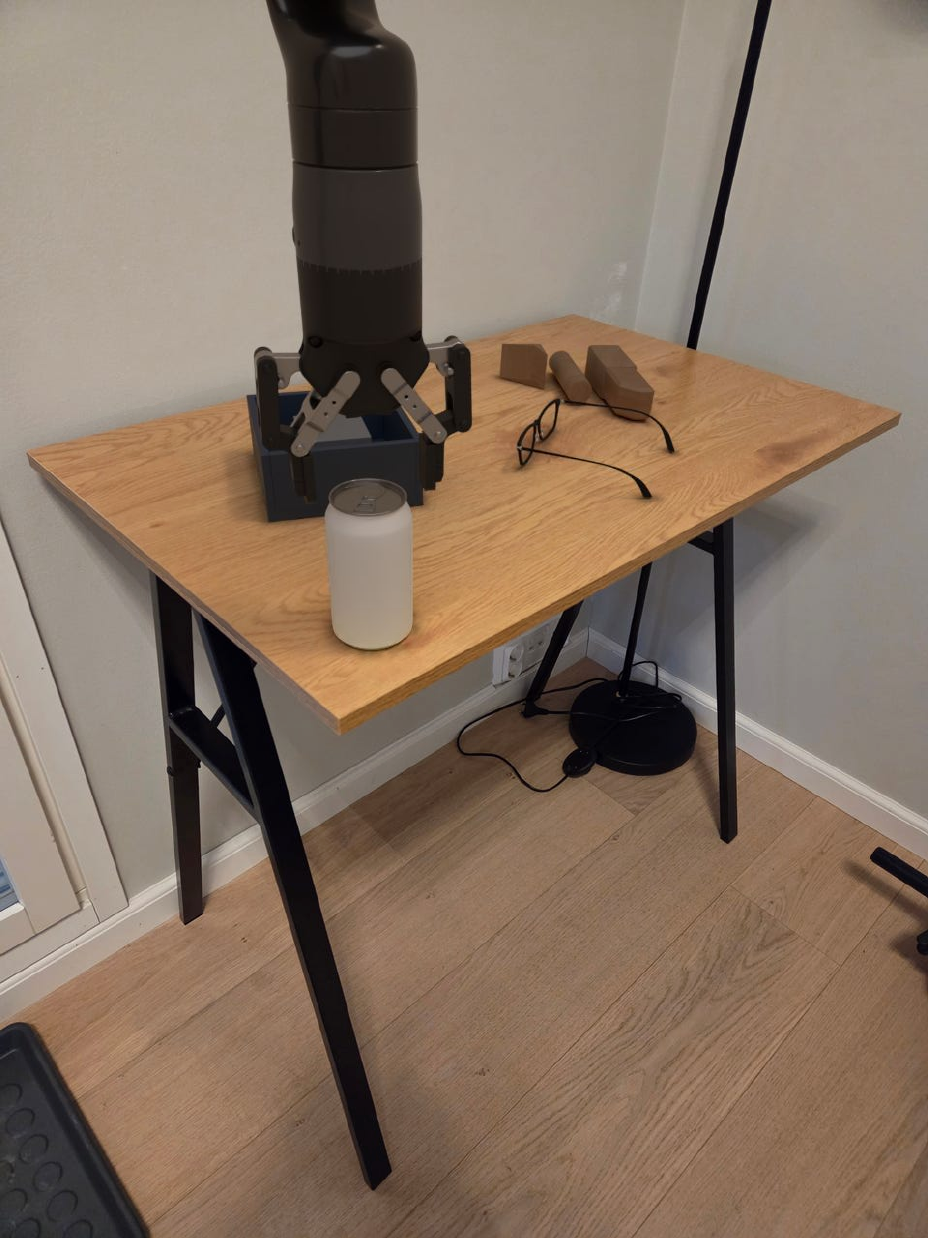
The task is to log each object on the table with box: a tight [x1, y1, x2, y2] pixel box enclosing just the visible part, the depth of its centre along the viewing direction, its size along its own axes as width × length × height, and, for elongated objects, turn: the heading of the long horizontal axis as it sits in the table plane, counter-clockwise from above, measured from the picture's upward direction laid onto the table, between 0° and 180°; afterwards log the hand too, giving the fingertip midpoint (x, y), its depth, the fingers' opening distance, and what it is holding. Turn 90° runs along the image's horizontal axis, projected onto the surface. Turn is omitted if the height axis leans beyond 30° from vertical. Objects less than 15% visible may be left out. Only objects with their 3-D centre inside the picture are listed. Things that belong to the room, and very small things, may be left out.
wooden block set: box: [499, 343, 656, 421], centre depth 105 cm, size 17×6×18 cm
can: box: [324, 478, 414, 651], centre depth 60 cm, size 6×6×12 cm
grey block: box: [293, 414, 372, 448], centre depth 83 cm, size 7×7×5 cm
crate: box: [246, 390, 424, 523], centre depth 83 cm, size 16×16×7 cm
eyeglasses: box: [515, 397, 676, 499], centre depth 90 cm, size 16×16×4 cm
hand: (369, 492), depth 57 cm, fingers open, 8 cm apart
